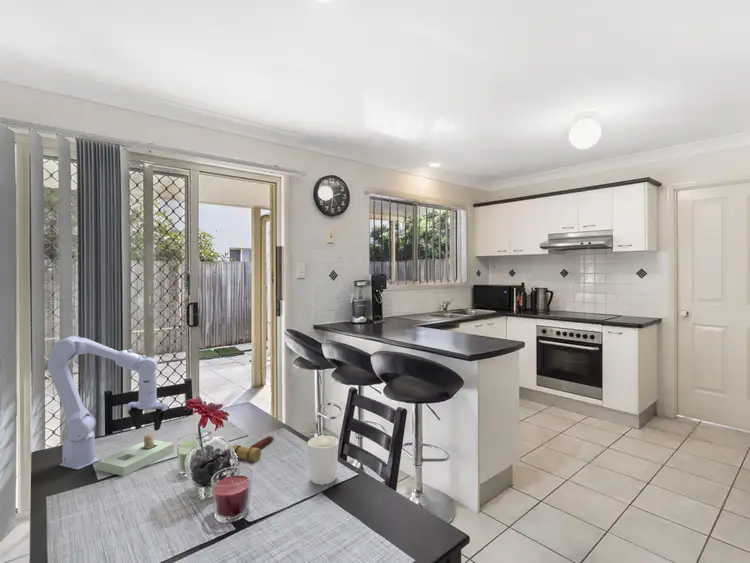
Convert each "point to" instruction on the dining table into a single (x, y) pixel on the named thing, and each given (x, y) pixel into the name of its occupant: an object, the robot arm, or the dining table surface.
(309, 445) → the candle holder
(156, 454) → the hole board
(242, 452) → the gavel
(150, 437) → the maple peg
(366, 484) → the dining table surface
